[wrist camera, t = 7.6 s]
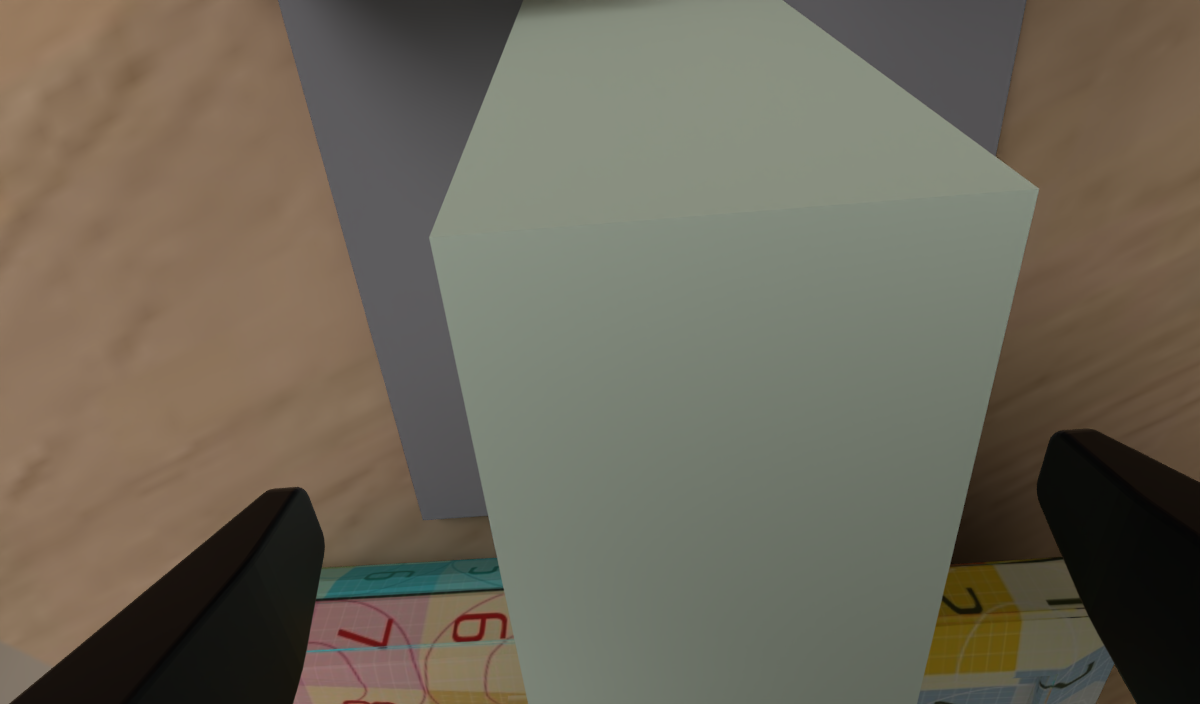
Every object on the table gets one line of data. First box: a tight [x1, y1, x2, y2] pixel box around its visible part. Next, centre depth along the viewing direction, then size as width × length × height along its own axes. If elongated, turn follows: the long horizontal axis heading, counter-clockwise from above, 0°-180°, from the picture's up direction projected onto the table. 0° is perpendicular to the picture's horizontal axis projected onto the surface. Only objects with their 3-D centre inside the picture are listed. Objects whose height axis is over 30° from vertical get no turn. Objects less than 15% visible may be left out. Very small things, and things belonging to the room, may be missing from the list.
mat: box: [278, 0, 1026, 520], centre depth 15 cm, size 12×12×1 cm
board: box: [429, 0, 1039, 704], centre depth 11 cm, size 3×10×10 cm, turn 4°
